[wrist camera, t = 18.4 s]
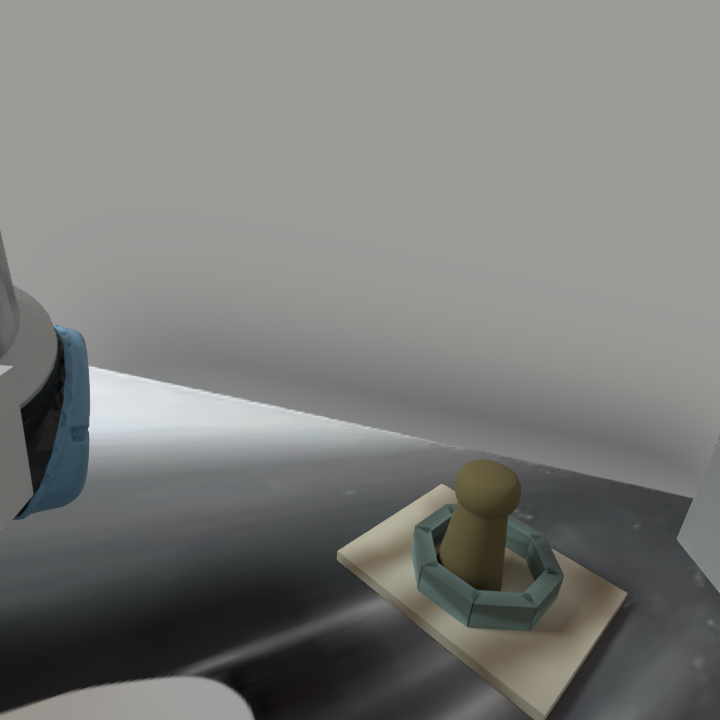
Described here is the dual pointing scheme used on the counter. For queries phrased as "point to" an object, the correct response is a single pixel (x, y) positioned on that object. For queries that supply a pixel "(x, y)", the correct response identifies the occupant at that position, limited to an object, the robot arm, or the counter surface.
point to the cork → (480, 524)
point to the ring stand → (490, 601)
